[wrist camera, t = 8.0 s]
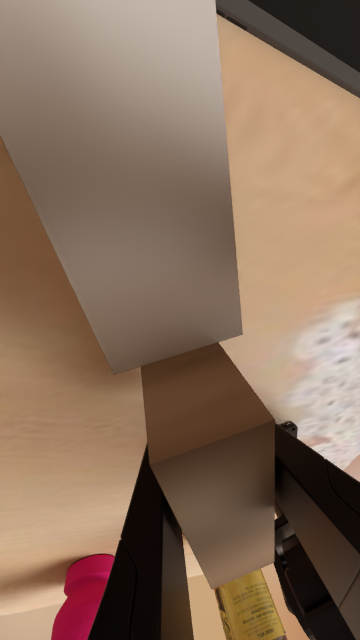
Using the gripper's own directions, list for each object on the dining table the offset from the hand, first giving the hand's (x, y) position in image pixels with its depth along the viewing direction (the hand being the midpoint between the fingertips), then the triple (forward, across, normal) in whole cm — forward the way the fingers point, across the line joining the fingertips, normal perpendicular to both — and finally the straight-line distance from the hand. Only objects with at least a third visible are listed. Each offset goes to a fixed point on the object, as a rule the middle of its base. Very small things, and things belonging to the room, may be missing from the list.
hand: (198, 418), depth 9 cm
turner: (+1, 0, -3) cm, 3 cm away
